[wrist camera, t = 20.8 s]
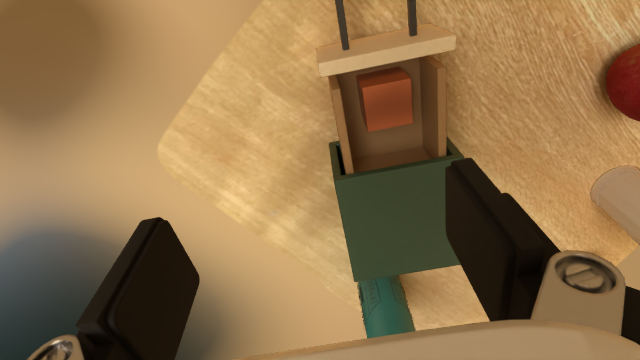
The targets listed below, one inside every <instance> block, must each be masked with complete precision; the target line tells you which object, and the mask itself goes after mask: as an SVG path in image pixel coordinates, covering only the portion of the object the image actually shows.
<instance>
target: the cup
mask: <svg viewBox="0 0 640 360" xmlns="http://www.w3.org/2000/svg"><path fill="white" fill-rule="evenodd" d="M591 199H592V201H593V202H594V203H595V204H597V205H598V206H599V207H600V208H601V209H602V210H604V211H605V212H606V213H607V214H608V215H609V216H610V217H611V218H612V219H613V220H614V221H615V222H616V223H617V224H618V225H619V226H620V227H621V228H622V229H623V230H624V231H625V232H626V233H627V234H628V235H629V236H630V237H631V238H632V239H634V240H635V241H636V242H637V243H638V244H639V245H640V170H639V169H637V168H636V167H633V166H620V167H617V168H614V169H612V170H610V171H608V172H606V173H605V174H603V175H602V176H601V177H600V178H599V179H598V180H597V181H596V182H595V184H594V185H593V187H592V189H591Z"/></svg>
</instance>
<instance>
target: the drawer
mask: <svg viewBox="0 0 640 360" xmlns="http://www.w3.org/2000/svg"><path fill="white" fill-rule="evenodd" d="M335 4H336V10H337V17H338V23H339V30H340V36H341V42H339V43H335V44H330V45H325V46H321V47H316V55H317V63H318V68H319V73H320V77H326V76H328V80H329V86H330V91H331V97H332V102H333V108H334V113H335V119H336V124H337V130H338V135H339V141H340V146H341V152H342V158H343V163H344V168H345V173H346V175H348V174H353V173H358V172H364V171H369V170H374V169H380V168H385V167H391V166H396V165H401V164H407V163H412V162H417V161H423V160H428V159H433V158H439V157H444V156H446V108H447V67H446V66H444V65H443V64H441V63H440V62H438V61H437V60H436V59H434V58H433V57H431V56H430V55H433V54H437V53H442V52H447V51H452V50H455V49H456V35H455V34H453V33H450V32H448V31H446V30H444V29H442V28H439V27H437V26H435V25H433V24H430V23H429V24H424V25H419V26H417V18H416V0H407V7H408V26H409V28H405V29H400V30H396V31H391V32H386V33H382V34H377V35H372V36H368V37H363V38H358V39H353V40H349V41H348V34H347V27H346V20H345V13H344V6H343V0H335ZM398 66H399V67H400V68H401V69H402V70H403V71H404V72H405V73H406V74H407V75H408V76H409V77H410V78H411V92H412V111H413V123H412V124H406V125H401V126H396V127H391V128H386V129H381V130H375V131H370V132H368V131H367V128H366V126H365V123H364V121H363V118H362V115H361V108H360V101H359V94H358V87H357V79H356V75H359V74H364V73H369V72H374V71H379V70H383V69H388V68H393V67H398Z"/></svg>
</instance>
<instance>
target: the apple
mask: <svg viewBox="0 0 640 360" xmlns="http://www.w3.org/2000/svg"><path fill="white" fill-rule="evenodd" d="M606 90H607V94H608V96H609V98H610V100H611V102H612V103H613V105H614V106H615V107H616V108H617V109H618V110H619V111H621V112H622V113H623V114H625V115H626V116H628V117H629V118H631V119H634V120H636V121H639V122H640V44H638V45H636V46H634V47H632V48H630V49H628V50H627V51H625V52H624V53H622V54H621V55H620V56H619V57H618V58H617V59H616V60H615V61H614V63H613V64H612V66H611V67H610V69H609V71H608V73H607V77H606Z"/></svg>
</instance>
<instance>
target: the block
mask: <svg viewBox="0 0 640 360" xmlns="http://www.w3.org/2000/svg"><path fill="white" fill-rule="evenodd" d="M356 79H357V87H358V94H359V101H360V108H361V115H362V118H363V121H364V123H365V126H366V128H367V131H368V132H370V131H375V130H381V129H386V128H391V127H396V126H401V125H406V124H412V123H413V111H412V92H411V78H410V77H409V76H408V75H407V74H406V73H405V72H404V71H403V70H402V69H401V68H400V67H399V66H398V67H393V68H388V69H383V70H379V71H374V72H369V73H364V74H359V75H356Z"/></svg>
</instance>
